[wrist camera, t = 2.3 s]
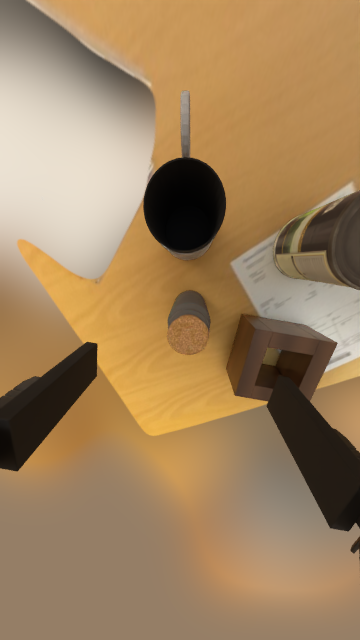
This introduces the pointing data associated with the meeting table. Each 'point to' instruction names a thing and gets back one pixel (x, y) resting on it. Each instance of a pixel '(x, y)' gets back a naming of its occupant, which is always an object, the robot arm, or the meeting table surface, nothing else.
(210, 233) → the glass holder
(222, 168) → the meeting table surface
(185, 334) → the bottle
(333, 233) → the coffee can
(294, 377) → the bottle stand
